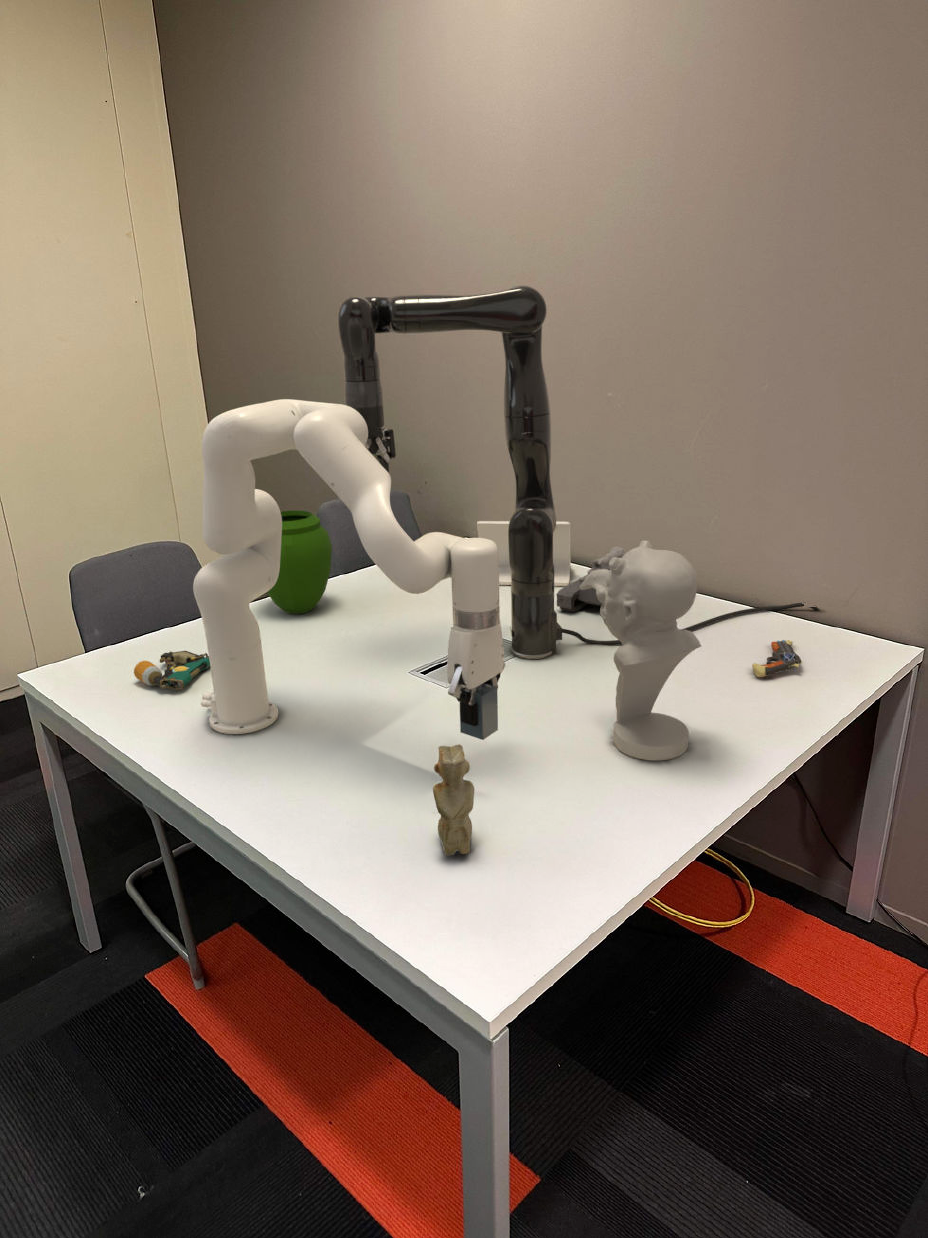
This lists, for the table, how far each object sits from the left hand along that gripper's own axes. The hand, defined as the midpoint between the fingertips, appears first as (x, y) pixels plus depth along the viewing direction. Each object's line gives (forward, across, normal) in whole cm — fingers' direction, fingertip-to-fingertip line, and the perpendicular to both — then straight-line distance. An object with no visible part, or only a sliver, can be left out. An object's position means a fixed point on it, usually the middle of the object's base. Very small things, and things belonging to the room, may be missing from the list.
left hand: (478, 716), depth 143 cm
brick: (+3, 0, 0) cm, 3 cm away
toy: (+8, -80, -17) cm, 82 cm away
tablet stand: (+8, -88, -50) cm, 101 cm away
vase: (+8, -33, -82) cm, 89 cm away
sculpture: (+8, +22, +12) cm, 27 cm away
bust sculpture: (+8, -20, +18) cm, 28 cm away
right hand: (-30, -24, -45) cm, 59 cm away
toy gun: (+8, -67, +27) cm, 72 cm away
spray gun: (+8, +10, -73) cm, 74 cm away
